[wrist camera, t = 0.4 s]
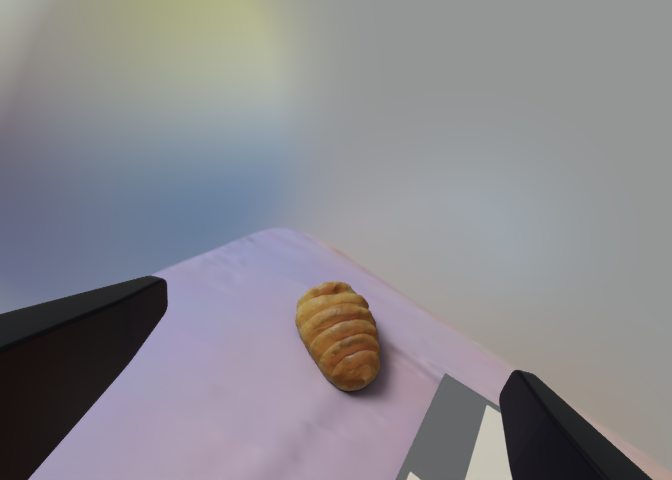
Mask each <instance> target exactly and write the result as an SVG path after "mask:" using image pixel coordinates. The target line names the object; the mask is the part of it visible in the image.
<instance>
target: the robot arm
mask: <svg viewBox="0 0 672 480" xmlns="http://www.w3.org/2000/svg"><path fill="white" fill-rule="evenodd" d="M167 306H168V299H167V282H166V280H164V279H163V278H159V277H155V276H145V277H141V278H137V279H133V280H130V281H126V282H122V283H118V284H115V285H111V286H107V287H103V288H99V289H95V290H92V291H88V292H84V293H80V294H76V295H72V296H68V297H64V298H61V299H57V300H53V301H49V302H45V303H42V304H37V305H34V306H30V307H26V308H22V309H18V310H14V311H11V312H7V313H3V314H0V480H28V479H29V478H30V477H31V475H32V474H33V473H34V472H35V471H36V470H37V469H38V467H39V466H40V465H41V464H42V463H43V462H44V461H45V459H46V458H47V457H48V456H49V455H50V454H51V453H52V451H53V450H54V449H55V448H56V447H57V446H58V445H59V443H60V442H61V441H62V440H63V439H64V438H65V436H66V435H67V434H68V433H69V432H70V431H71V430H72V428H73V427H74V426H75V425H76V424H77V423H78V422H79V420H80V419H81V418H82V417H83V416H84V415H85V414H86V412H87V411H88V410H89V409H90V408H91V407H92V406H93V404H94V403H95V402H96V401H97V400H98V399H99V397H100V396H101V395H102V394H103V393H104V392H105V391H106V389H107V388H108V387H109V386H110V385H111V384H112V383H113V381H114V380H115V379H116V378H117V377H118V376H119V375H120V373H121V372H122V371H123V370H124V369H125V367H126V366H127V365H128V364H129V363H130V361H131V360H132V359H133V357H134V356H135V355H136V353H137V352H138V351H139V349H140V348H141V346H142V345H143V344H144V342H145V341H146V339H147V338H148V337H149V335H150V334H151V332H152V331H153V330H154V328H155V327H156V325H157V324H158V323H159V321H160V320H161V318H162V317H163V316H164V314H165V312H166V310H167ZM499 404H500V410H501V417H502V423H503V430H504V436H505V443H506V449H507V456H508V461H509V467H510V471H511V476H512V480H652V479H651V478H650V477H649V476H648V475H647V474H646V473H644V472H643V471H642V470H641V469H640V468H639V467H638V466H637V465H635V464H634V463H633V462H632V461H631V460H630V459H629V458H628V457H626V456H625V455H624V454H623V453H622V452H621V451H620V450H619V449H617V448H616V447H615V446H614V445H613V444H612V443H611V442H610V441H609V440H607V439H606V438H605V437H604V436H603V435H602V434H601V433H600V432H598V431H597V430H596V429H595V428H594V427H593V426H592V425H591V424H589V423H588V422H587V421H586V420H585V419H584V418H583V417H582V416H580V415H579V414H578V413H577V412H576V411H575V410H574V409H573V408H571V407H570V406H569V405H568V404H567V403H566V402H565V401H564V400H563V399H561V398H560V397H559V396H558V395H557V394H556V393H555V392H554V391H552V390H551V389H550V388H549V387H548V386H547V385H546V384H545V383H543V382H542V381H541V380H540V379H539V378H538V377H537V376H536V375H534V374H532V373H529V372H524V371H521V370H515V371H513V372H512V373H511V375H510V377H509V379H508V380H507V382H506V384H505V386H504V387H503V389H502V391H501V393H500V398H499Z"/></svg>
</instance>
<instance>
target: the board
mask: <svg viewBox="0 0 672 480" xmlns="http://www.w3.org/2000/svg"><path fill="white" fill-rule="evenodd" d="M396 480H512V476H511V471H510V467H509V461H508V456H507V449H506V443H505V436H504V430H503V423H502V417H501V410H500V407H499V406H497V405H496V404H494V403H493V402H491V401H489V400H488V399H486V398H485V397H483V396H481V395H480V394H478V393H477V392H475V391H473V390H472V389H470V388H468V387H467V386H465V385H464V384H462V383H460V382H459V381H457V380H456V379H454V378H452V377H451V376H449V375H448V374H446V373H445V375H444V377H443V379H442V381H441V383H440V385H439V387H438V389H437V392H436V394H435V396H434V398H433V400H432V402H431V405H430V407H429V409H428V411H427V413H426V415H425V418H424V420H423V422H422V424H421V426H420V428H419V431H418V433H417V435H416V437H415V439H414V441H413V444H412V446H411V448H410V450H409V452H408V454H407V457H406V459H405V461H404V463H403V465H402V467H401V470H400V472H399V474H398V476H397V478H396Z"/></svg>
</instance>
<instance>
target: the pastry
mask: <svg viewBox="0 0 672 480" xmlns="http://www.w3.org/2000/svg"><path fill="white" fill-rule="evenodd" d="M368 308H369V305H368V303H367V302H366V300H365V299H364V298H363V297H362V296H361V295H357V294H356V292H355V291H354V290H353V289H352V288H351V286H350V285H349V284H346V283H344V282H326V283H323V284H321V285H320V286H317V287H314V288H312V289H310V290H309V291H308V292H306V293H305V295H304V296H302V297H301V299H300V300H299V301H298V303H297V314H296V320H295V322H296V326H297V329H298V332H299V334H300V338H301V339H302V341H303V342H304V344H305V347H306V348H307V350H308V352H309V354H310V355H311V357H312V358H313V360H314V361H315V363H316V364H317V366H318V367H319V369H320V370H321V372H322V373H323V374H324V376H325V377H326V379H327V380H329V381H330V382H331V383H333V384H334V385H335V386H336V387H337V388H339V389H341V390H345V391H353V390H359V389H362V388H364V387H365V386H366V385H367V384H369V383H370V382H371V381H373V380H374V379H375V377H376V375H377V373H378V372H379V370H380V358H379V353H380V346H379V344H378V333H377V329H376V322H375V320H374V318H373V317H372V314H371V312H370V311H369V310H368Z"/></svg>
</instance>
